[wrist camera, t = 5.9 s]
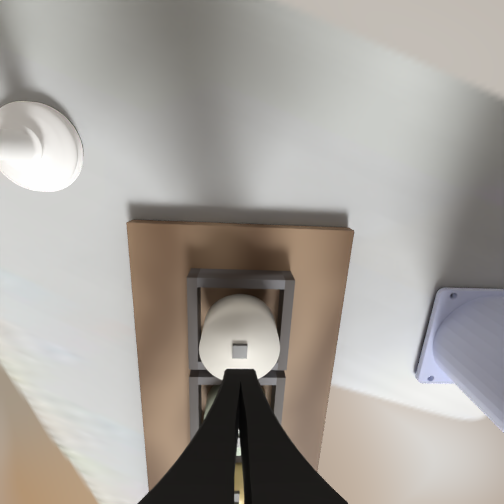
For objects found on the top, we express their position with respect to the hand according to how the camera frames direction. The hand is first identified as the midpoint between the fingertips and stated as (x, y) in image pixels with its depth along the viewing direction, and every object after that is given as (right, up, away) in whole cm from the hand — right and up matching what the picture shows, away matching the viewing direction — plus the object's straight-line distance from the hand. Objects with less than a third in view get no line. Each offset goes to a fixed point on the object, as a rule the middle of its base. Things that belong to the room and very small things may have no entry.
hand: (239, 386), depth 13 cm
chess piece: (-12, +12, +4) cm, 17 cm away
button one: (0, +2, +5) cm, 5 cm away
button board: (-1, -4, +9) cm, 10 cm away
